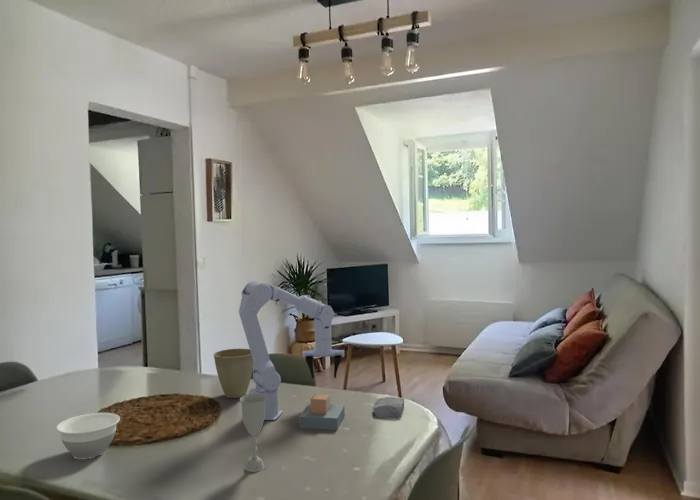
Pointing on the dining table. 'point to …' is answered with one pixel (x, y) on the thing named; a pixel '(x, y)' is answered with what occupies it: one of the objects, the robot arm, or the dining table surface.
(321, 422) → the slate box
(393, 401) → the stone block
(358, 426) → the dining table surface
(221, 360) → the plant pot
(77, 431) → the bowl
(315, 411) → the terracotta block
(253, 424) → the chalice
